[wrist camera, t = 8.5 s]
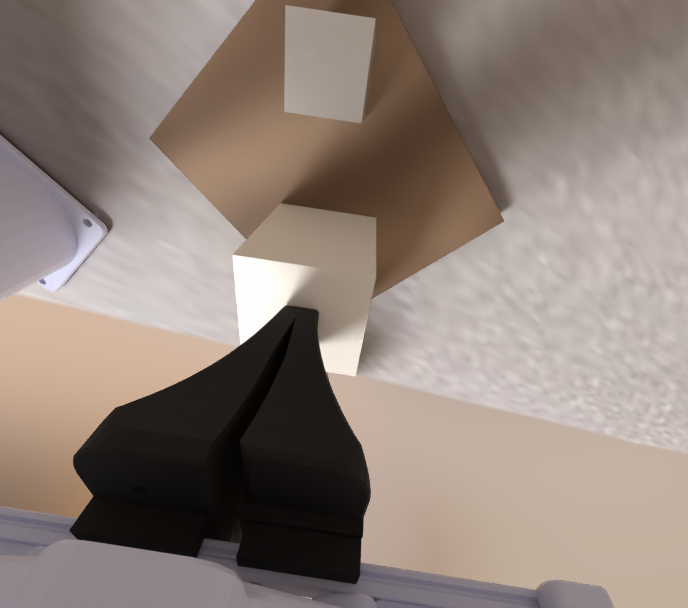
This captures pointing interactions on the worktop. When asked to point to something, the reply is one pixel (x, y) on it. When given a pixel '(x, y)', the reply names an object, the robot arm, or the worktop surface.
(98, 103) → the worktop surface
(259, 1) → the board
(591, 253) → the worktop surface
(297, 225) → the cream rectangular block
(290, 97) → the post
